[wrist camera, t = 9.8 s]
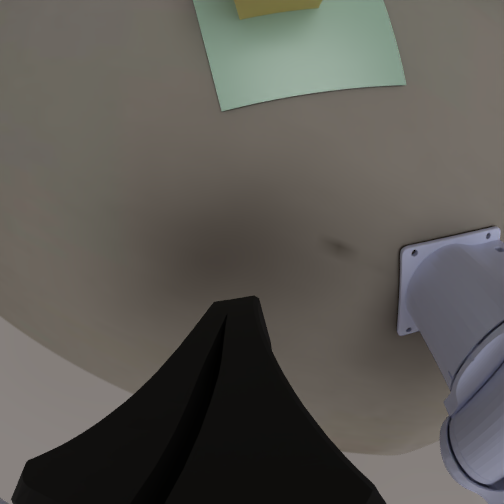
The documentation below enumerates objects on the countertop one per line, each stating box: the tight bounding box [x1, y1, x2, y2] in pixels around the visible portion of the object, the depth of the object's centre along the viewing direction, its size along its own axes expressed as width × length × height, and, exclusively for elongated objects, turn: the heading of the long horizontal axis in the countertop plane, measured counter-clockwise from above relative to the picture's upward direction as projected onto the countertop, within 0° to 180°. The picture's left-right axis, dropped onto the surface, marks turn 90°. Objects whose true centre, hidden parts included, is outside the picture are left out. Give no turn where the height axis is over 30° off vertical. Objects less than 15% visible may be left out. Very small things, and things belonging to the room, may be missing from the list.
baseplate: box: [193, 0, 406, 111], centre depth 12 cm, size 11×11×1 cm
